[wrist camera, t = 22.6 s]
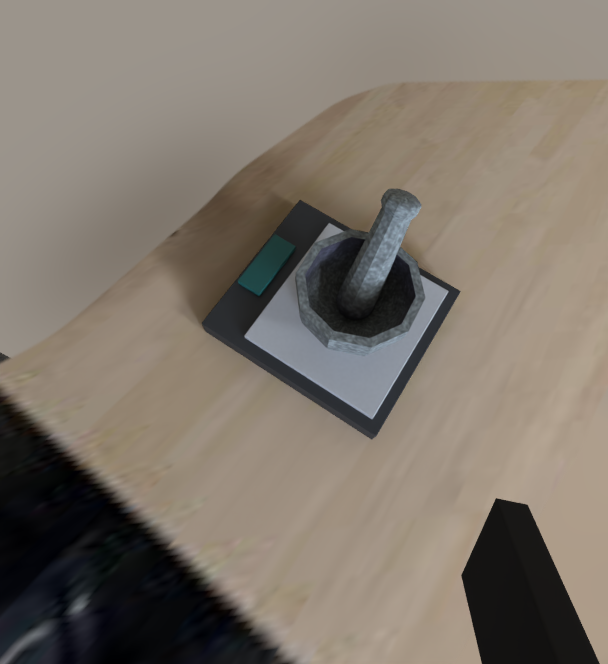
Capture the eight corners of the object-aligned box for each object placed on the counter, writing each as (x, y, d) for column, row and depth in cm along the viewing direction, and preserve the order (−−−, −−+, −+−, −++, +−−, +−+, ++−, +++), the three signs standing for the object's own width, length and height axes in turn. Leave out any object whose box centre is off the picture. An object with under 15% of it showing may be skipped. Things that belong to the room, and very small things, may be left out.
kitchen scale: (204, 331, 42) (199, 320, 40) (299, 211, 47) (300, 195, 45) (371, 439, 40) (377, 435, 37) (453, 300, 45) (463, 288, 42)
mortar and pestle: (371, 393, 38) (406, 347, 27) (274, 340, 40) (270, 275, 28) (424, 288, 42) (476, 209, 31) (334, 243, 43) (352, 152, 32)
